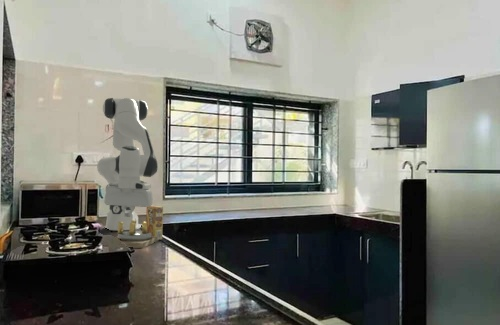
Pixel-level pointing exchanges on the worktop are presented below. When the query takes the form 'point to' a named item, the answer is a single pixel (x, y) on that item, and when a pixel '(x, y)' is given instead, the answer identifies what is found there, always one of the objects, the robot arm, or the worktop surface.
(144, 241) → the stand plate
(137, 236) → the cam disc
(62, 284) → the worktop surface
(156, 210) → the candy box
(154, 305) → the worktop surface
